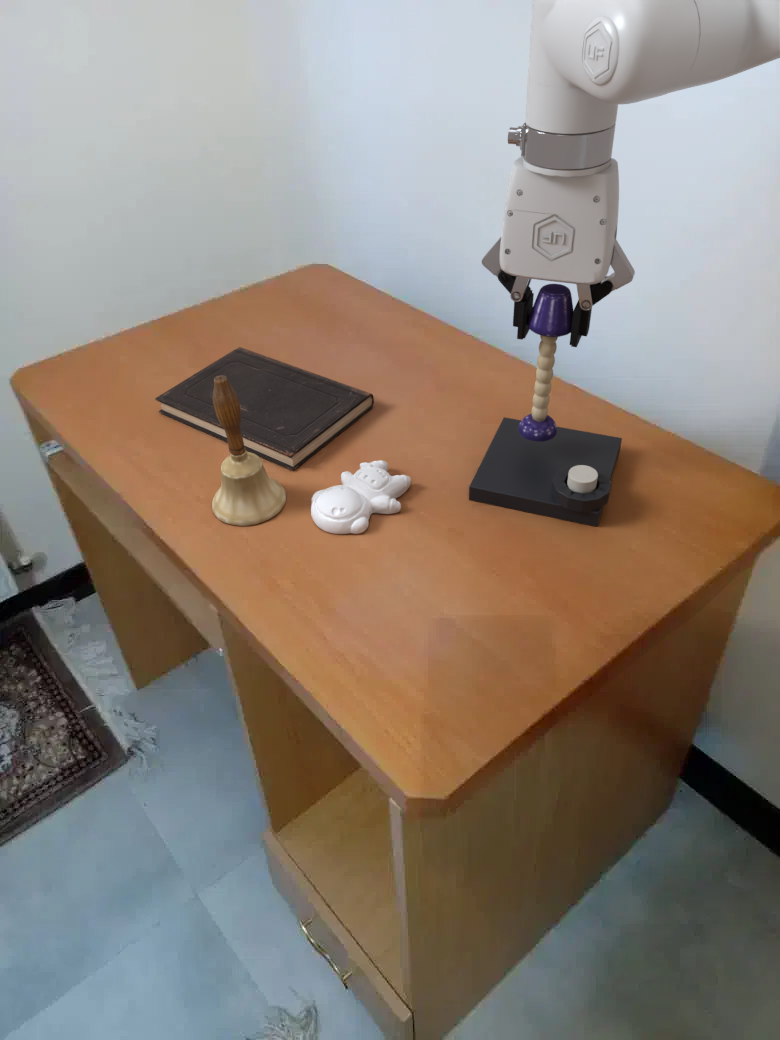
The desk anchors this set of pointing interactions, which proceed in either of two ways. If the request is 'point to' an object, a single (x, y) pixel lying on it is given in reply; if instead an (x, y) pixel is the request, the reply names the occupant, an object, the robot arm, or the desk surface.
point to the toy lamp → (546, 356)
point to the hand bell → (241, 470)
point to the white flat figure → (358, 498)
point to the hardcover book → (270, 406)
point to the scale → (545, 473)
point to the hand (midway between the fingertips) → (550, 335)
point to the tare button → (582, 479)
